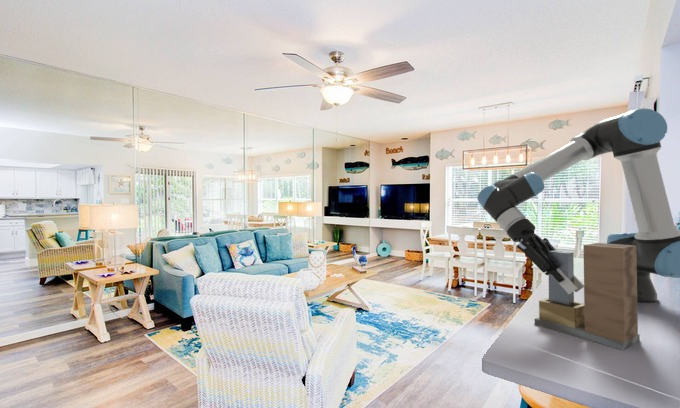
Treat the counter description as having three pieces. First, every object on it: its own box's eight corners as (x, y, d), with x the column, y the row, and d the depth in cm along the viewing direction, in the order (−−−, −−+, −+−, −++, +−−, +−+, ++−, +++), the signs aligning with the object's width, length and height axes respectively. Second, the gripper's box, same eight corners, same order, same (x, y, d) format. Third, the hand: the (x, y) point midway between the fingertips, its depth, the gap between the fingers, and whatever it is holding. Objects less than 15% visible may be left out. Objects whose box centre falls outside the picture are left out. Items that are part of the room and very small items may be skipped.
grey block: (554, 306, 95) (553, 250, 95) (573, 310, 90) (573, 252, 90) (548, 307, 93) (548, 251, 93) (568, 312, 89) (567, 253, 89)
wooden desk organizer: (553, 317, 99) (552, 238, 99) (639, 340, 81) (638, 245, 81) (534, 323, 93) (533, 241, 94) (622, 350, 76) (620, 248, 76)
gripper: (522, 232, 109) (580, 293, 95) (492, 234, 101) (550, 302, 87) (539, 216, 105) (602, 278, 90) (508, 218, 96) (573, 286, 82)
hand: (576, 290), depth 88 cm, fingers closed on grey block, 3 cm apart
